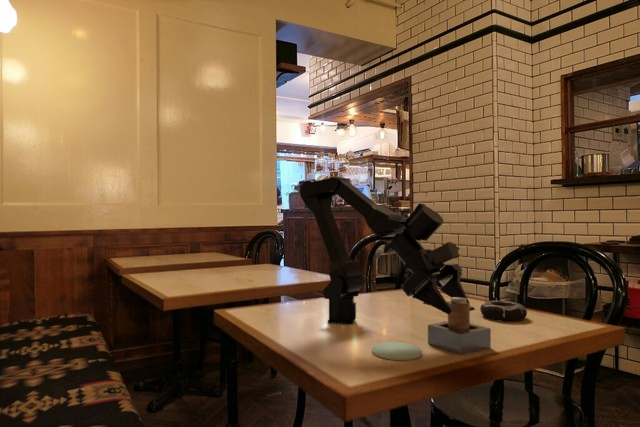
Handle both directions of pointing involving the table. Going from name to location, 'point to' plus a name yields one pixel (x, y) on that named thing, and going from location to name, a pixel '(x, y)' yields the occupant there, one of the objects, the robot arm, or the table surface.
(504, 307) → the donut
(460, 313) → the pepper mill
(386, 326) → the table surface
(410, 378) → the table surface
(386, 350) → the coaster
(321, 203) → the robot arm
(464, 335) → the box
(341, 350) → the table surface
